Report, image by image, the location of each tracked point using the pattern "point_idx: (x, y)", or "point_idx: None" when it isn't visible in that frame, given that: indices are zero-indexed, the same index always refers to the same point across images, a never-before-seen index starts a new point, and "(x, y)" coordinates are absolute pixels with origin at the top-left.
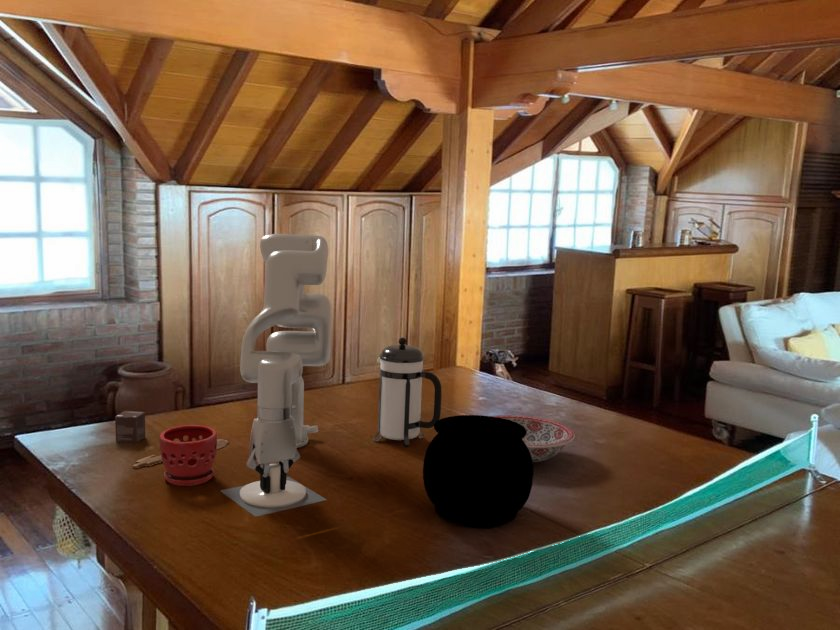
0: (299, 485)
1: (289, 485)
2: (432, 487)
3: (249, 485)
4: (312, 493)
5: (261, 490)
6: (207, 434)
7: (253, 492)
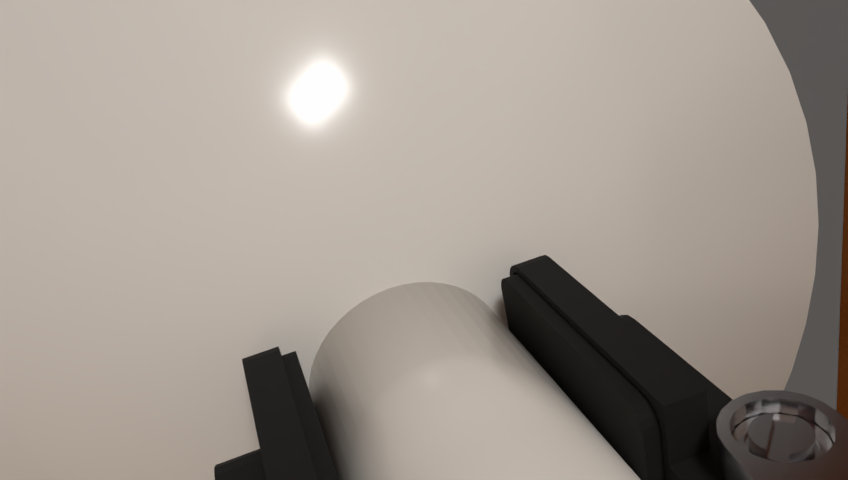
0: (786, 248)
1: (682, 220)
2: None
3: (57, 36)
4: (805, 368)
5: (246, 330)
6: None
7: (97, 390)
